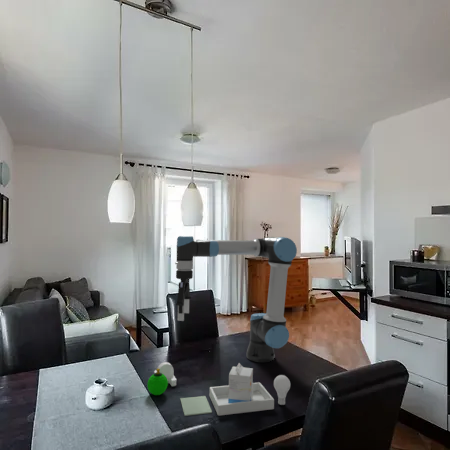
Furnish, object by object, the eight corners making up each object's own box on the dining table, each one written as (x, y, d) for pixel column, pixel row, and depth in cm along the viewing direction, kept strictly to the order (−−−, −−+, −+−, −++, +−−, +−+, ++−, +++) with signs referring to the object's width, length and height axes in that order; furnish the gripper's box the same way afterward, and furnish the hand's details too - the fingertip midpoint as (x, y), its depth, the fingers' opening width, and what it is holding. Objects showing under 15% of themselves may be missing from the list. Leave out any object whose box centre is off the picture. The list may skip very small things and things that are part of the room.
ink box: (249, 408, 122) (250, 372, 122) (227, 405, 123) (228, 369, 124) (252, 397, 130) (253, 363, 130) (231, 394, 132) (232, 361, 132)
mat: (205, 396, 130) (205, 395, 130) (212, 412, 118) (212, 411, 119) (180, 399, 127) (180, 398, 127) (184, 415, 116) (184, 414, 116)
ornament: (148, 389, 135) (149, 365, 135) (168, 389, 135) (169, 365, 136) (145, 399, 127) (146, 373, 127) (166, 399, 127) (167, 373, 128)
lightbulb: (271, 400, 128) (272, 372, 129) (287, 400, 129) (287, 372, 129) (275, 409, 122) (276, 379, 123) (292, 408, 123) (292, 379, 123)
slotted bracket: (153, 376, 148) (154, 358, 148) (168, 374, 151) (169, 356, 151) (160, 388, 136) (161, 369, 137) (176, 386, 139) (177, 367, 140)
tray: (259, 390, 136) (259, 382, 137) (273, 408, 122) (274, 399, 122) (209, 396, 131) (209, 387, 131) (218, 415, 117) (218, 405, 117)
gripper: (181, 266, 161) (180, 310, 161) (170, 272, 137) (169, 323, 136) (196, 267, 161) (195, 310, 160) (188, 273, 136) (187, 324, 135)
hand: (183, 316), depth 148 cm, fingers open, 13 cm apart
